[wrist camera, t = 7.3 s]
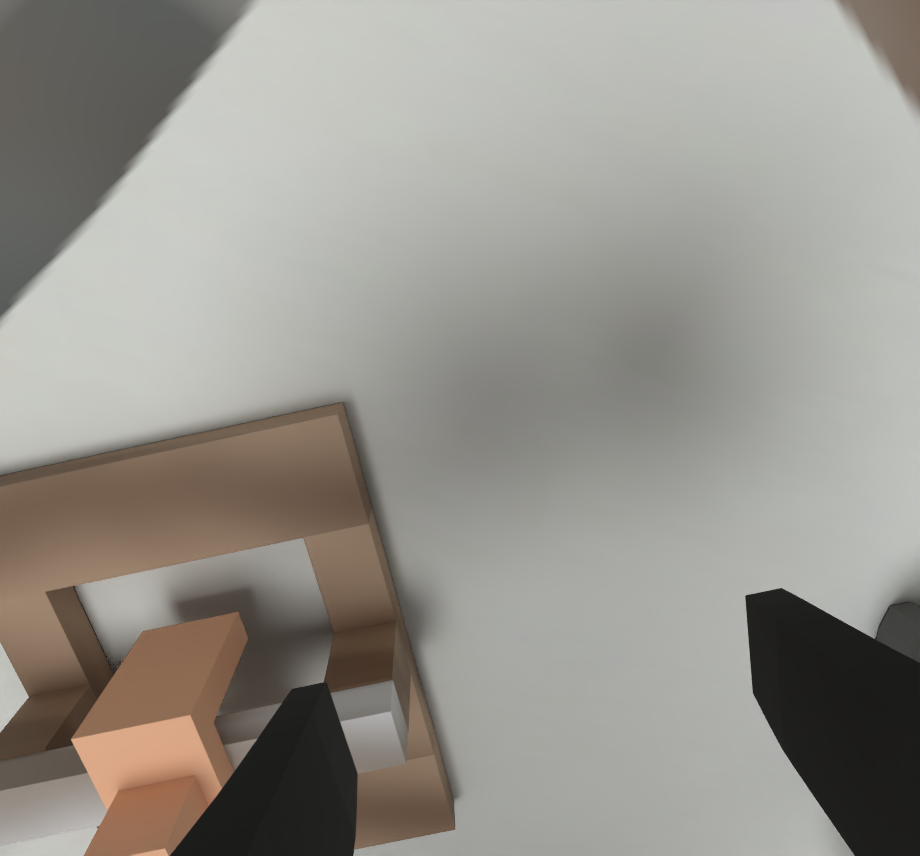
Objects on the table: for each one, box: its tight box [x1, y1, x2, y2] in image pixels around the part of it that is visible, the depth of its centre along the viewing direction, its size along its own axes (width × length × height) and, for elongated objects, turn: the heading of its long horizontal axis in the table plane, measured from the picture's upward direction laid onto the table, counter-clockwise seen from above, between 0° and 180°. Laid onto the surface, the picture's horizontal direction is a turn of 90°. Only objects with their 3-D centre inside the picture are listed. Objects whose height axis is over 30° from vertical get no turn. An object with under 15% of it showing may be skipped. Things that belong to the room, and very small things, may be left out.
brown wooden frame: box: [0, 402, 455, 849], centre depth 20 cm, size 16×12×5 cm
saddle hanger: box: [71, 612, 248, 856], centre depth 18 cm, size 5×3×6 cm, turn 12°
